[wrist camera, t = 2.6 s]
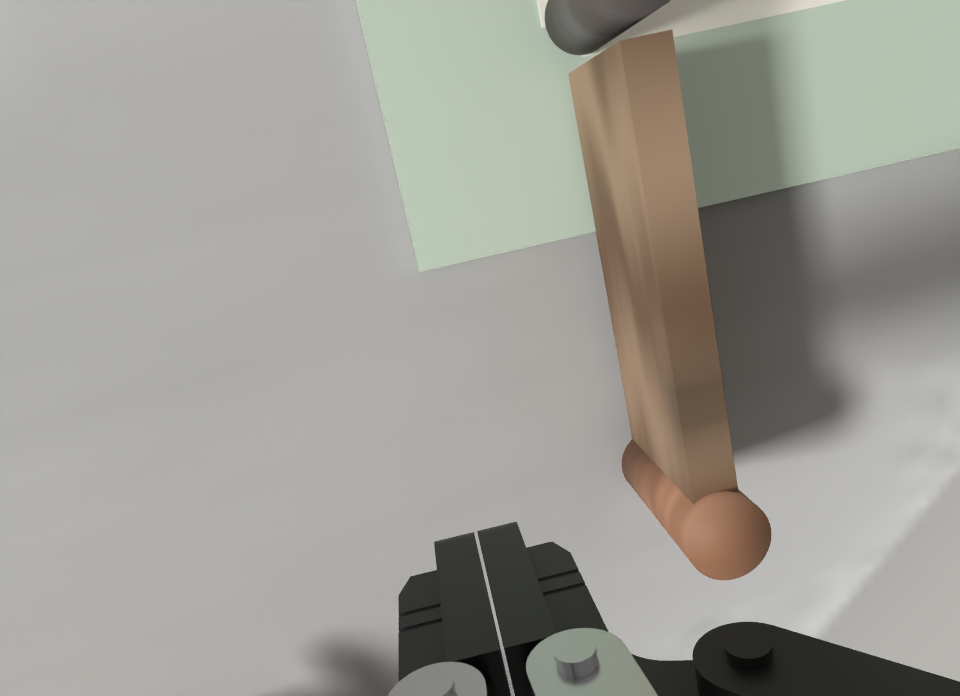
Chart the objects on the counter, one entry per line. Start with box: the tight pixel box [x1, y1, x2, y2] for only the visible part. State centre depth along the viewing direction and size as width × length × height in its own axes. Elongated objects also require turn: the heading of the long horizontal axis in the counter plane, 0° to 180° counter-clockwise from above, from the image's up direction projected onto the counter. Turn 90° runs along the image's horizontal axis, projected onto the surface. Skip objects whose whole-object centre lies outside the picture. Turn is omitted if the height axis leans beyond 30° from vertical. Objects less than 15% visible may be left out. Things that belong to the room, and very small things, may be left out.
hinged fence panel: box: [545, 0, 771, 580], centre depth 20 cm, size 16×2×6 cm, turn 12°
